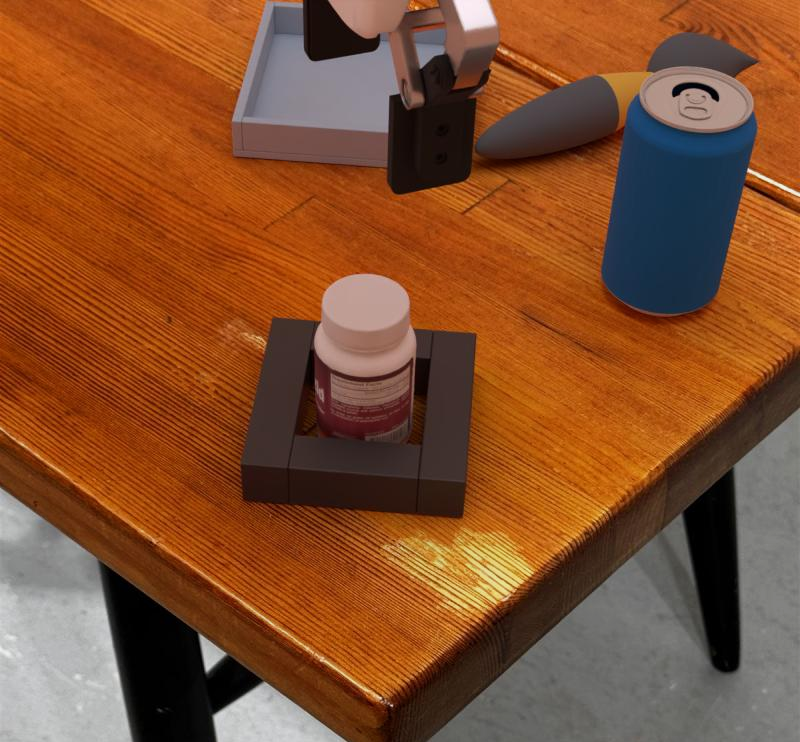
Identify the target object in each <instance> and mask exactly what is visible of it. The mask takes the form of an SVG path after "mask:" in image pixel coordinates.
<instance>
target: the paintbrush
mask: <svg viewBox="0 0 800 742" xmlns="http://www.w3.org/2000/svg"><path fill="white" fill-rule="evenodd" d="M760 62H761V60H760V59H757V58H755V57H753V56H752V55H750V54H748V53H746V52H744V51H743V50H741V49H739V48H737V47H735V46H733V45H731V44H729V43H727V42H725V41H723V40H721V39H718V38H716V37H714V36H710V35H706V34H704V33H698V32H691V31H690V32H689V31H688V32H685V31H684V32H679V33H675V34H672V35H671V36H669V37H667V38H666V39H664V40H663V41H662V42H661V43H660V44H659V45H658V46H657V47H656V48H655V49H654V51H653V53H652V54H651V56H650V58H649V61H648V63H647V68H646V71H628V72H627V71H623V72H610V73H599V74H594V75H590V76H589V75H588V76H587V77H583V78H580V79H577V80H575V81H572V82H569V83H566V84H564V85H562V86H559V87H557V88H555V89H551V90H550V91H547V92H546V93H543V94H541V95H539V96H537V97H535V98H534V99H532V100H530V101H528V102H525V103H524V104H523V105H520V106H519V107H517V108H515V109H514V110H512V111H511V112H509V113H507V114H506V115H504V116H503V117H501V118H500V119H498V120H497V121H495V122H494V123H493V124H492V125H490V126H489V127H488V128H487V129H486V130H484V132H483V133H481V135H480V136H479V137H478V138H477V140H476V142H475V144H474V145H473V151H474V152H475V154H476V155H478V156H479V157H483V158H485V159H491V160H492V159H493V160H512V159H513V160H515V159H523V158H530V157H536V156H537V157H538V156H543V155H547V154H548V155H549V154H552V153H556V152H560V151H561V152H562V151H565V150H569V149H573V148H575V147H579V146H582V145H585V144H588V143H591V142H594V141H597V140H599V139H603V138H605V137H607V136H609V135H612V134H614V133H616V132H618V131H619V130H620V129H622V128H624V127H625V122H626V116H627V110H628V107H629V105H630V103H631V101H632V100H633V99H634V97H635V96H636V95H637V94H638V93H639V92H640V87H641V85H642V83H643V82H644V80H645V79H646V78H648V77H649V76H650V75H652V74H654V73H656V72H658V71H661V70H664V69H668V68H673V67H700V68H706V69H711V70H715V71H718V72H721V73H724V74H726V75H728V76H731V77H732V78H734V79H736V77H737V76H739V75H740V74H741V73H742V72H744V71H746V70H747V69H749V68H751V67H752V66H755V65H756V64H758V63H760Z"/></svg>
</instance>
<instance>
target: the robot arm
mask: <svg viewBox="0 0 800 742" xmlns="http://www.w3.org/2000/svg"><path fill="white" fill-rule="evenodd" d="M411 1H412V0H302V3H303V35H304V51H305V53H306V55H307V56H308V58H309V59H310V60H311V61H314V62H317V61H323V60H329V59H334V58H340V57H346V56H351V55H357V54H363V53H369V52H373V51H375V50H377V48H378V47H379V45H380V34H381V33H388V38H389V43H390V48H391V52H392V57H393V62H394V67H395V72H396V77H397V81H398V86H399V91H400V93H399V94H395V95H390V96H389V121H388V157H387V168H386V184H387V185H388V186H389V188H390V190H391V192H392V193H393V194H395V195H397V196H401V195H402V196H403V195H406V194H411V193H412V194H413V193H417V192H421V191H426V190H430V189H435V188H441V187H446V186H450V185H451V186H452V185H455V184H459V183H464V182H465V181H467V180H468V179H469V178H470V176H471V173H472V165H473V152H474V138H475V126H476V115H477V102H478V101H477V100H478V98H481V96H483V93H484V87H485V85H486V84H487V83H488V82H489V78H490V74H491V73H492V69H491V68H490V66H491V65H492V61H493V59H494V56H495V55H496V52H497V50H498V47H499V45H500V42H501V32H500V31H501V30H500V26H499V23H498V20H497V17H496V14H495V12H494V9H493V6H492V3H491V1H490V0H436V1H437V4H438V6H432V7H427V8H420V9H415V10H408V12H406V10H407V9H408V8H409V6H410V3H411ZM442 28H446V39H445V42H444V48H445V52H444V54H442V55H436V56H434V57H433V58H432V59H431V60H430V61H429V62H427V63H426V64H425V65H424V66H423V67H422V68H421V69H420V65H419V60H418V55H417V50H416V45H415V40H414V35H413V33H418V32H424V31H430V30H436V29H442Z"/></svg>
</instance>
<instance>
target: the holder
mask: <svg viewBox="0 0 800 742" xmlns="http://www.w3.org/2000/svg"><path fill="white" fill-rule="evenodd" d="M320 323H321V320H312V319H299V318H287V317H275V316H273V317H272V318H271V322H270V327H269V332H268V336H267V340H266V345H265V348H264V349H265V350H264V354H263V359H262V363H261V368H260V373H259V377H258V382H257V386H256V391H255V394H254V400H253V404H252V409H251V413H250V417H249V422H248V427H247V432H246V435H245V439H244V445H243V450H242V453H241V454H242V455H241V458H240V463H239V466H240V467H239V468H240V479H241V480H240V481H241V492H242V500H243V501H248V502H257V503H258V502H259V503H272V504H283V505H289V504H290V505H298V506H299V505H301V506H311V507H313V506H314V507H325V508H336V509H337V508H338V509H347V510H362V511H373V512H385V513H396V514H397V513H399V514H409V515H410V514H411V515H416V514H417V515H423V516H424V515H425V516H435V517H449V518H460V519H462V518H463V517H464V512H465V504H466V503H465V501H466V490H467V478H468V465H469V451H470V435H471V422H472V421H471V420H472V407H473V396H474V395H473V394H474V393H473V392H474V382H475V381H474V379H475V365H476V351H477V349H476V348H477V336H478V335H477V333H475V332H463V331H451V330H439V329H435V330H433V329H426V328H414V327H412V328H413V330H414V333H415V337H416V360H415V378H414V394H420V395H426V399H425V407H424V408H425V409H424V419H423V428H422V429H423V430H422V431H423V432H422V439H421V444H415V443H407V444H402V443H390V442H377V441H365V440H352V439H340V438H327V437H318V436H314V435H303V430H304V426H305V425H304V424H305V420H306V413H307V408H308V403H309V397H310V392H311V391H310V390H311V386H315V357H314V338H315V334H316V331H317V329H318V326H319V325H320Z"/></svg>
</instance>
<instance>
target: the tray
mask: <svg viewBox="0 0 800 742" xmlns="http://www.w3.org/2000/svg"><path fill="white" fill-rule="evenodd" d="M408 11H409V10H406V12H408ZM260 18H261V19H260V22H259V25H258V28H257V32H256V36H255V39H254V41H253V46H252V49H251V53H250V56H249V60H248V63H247V67H246V70H245V74H244V77H243V81H242V84H241V88H240V91H239V93H238V98H237V101H236V104H235V108H234V112H233V115H232V119H231V135H232V148H233V151H232V152H233V157H236V158H237V157H238V158H247V159H248V158H250V159H265V160H277V161H292V162H303V163H304V162H305V163H319V164H329V165H330V164H332V165H344V166H345V165H347V166H357V167H359V166H360V167H371V168H372V167H373V168H385V169H387V157H388V121H389V96H390V95H395V94H399V93H400V91H399V86H398V81H397V77H396V72H395V67H394V62H393V57H392V52H391V48H390V43H389V38H388V33H381V34H380V45H379V47H378V48H377V50H375V51H373V52H369V53H363V54H357V55H351V56H346V57H340V58H334V59H329V60H323V61H317V62H314V61H311V60H310V59H309V58H308V56H307V55H306V53H305V51H304V35H303V2H291V1H290V2H289V1H278V0H277V1H274V0H273V1H272V0H271V1H270V0H266V2H265V4H264V8H263V12H262V15H261V17H260ZM413 35H414V40H415V45H416V50H417V55H418V60H419V65H420V69H421V68H422V67H423V66H424V65H425V64H426V63H427V62H429V61H430V60H431V59H432V58H433V57H434V56H436V55H442V54H444V52H445V48H444V42H445V39H446V28H442V29H436V30H430V31H424V32H418V33H413Z"/></svg>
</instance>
